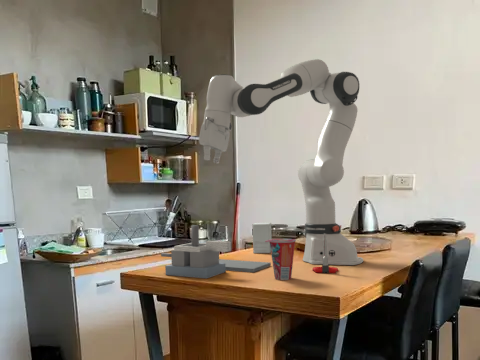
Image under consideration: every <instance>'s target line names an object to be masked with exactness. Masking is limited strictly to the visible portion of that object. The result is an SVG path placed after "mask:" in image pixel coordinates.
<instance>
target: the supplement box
mask: <svg viewBox="0 0 480 360" xmlns="http://www.w3.org/2000/svg"><path fill="white" fill-rule="evenodd" d="M251 226H252V245H253V246H252V249H253V250H252V251H253V254H271V249H270V242H265V241H267V240H270V239H273V238H272V237H273V236H272V222H254V223H253V224H252V225H251Z"/></svg>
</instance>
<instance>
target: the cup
mask: <svg viewBox="0 0 480 360" xmlns="http://www.w3.org/2000/svg"><path fill="white" fill-rule="evenodd" d="M265 242H270V249H271V252H270V254H271V255H270V256H271V260H272V266H273V267H272V268H273V274H274V275H273V276H274V280H277V281H288V280H292V273H293V263H294V255H295V254H294V253H295V247H296V242H297V240H296V238H295V239H294V238H272V239H270V240H267V241H265Z"/></svg>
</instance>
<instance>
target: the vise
mask: <svg viewBox="0 0 480 360" xmlns="http://www.w3.org/2000/svg"><path fill="white" fill-rule="evenodd" d="M190 227H191V243H192V246H193V247H199V243H200V233H199V232H200V231H199V225H196V224H193V225H191V226H190ZM160 257H163V258H164V257H165V258H171V264H166V265H165V270H164V271H165V275H166V276H176V277H185V278H186V277H187V278H198V279H208V278H209V279H210V278H212V277H215V276H218V275H221V274H224V273H226V270H225V263H219V259H220V251H203V252H188V251H174V249H172V250H171V253H169V252H168V253H167V252H161V253H160Z"/></svg>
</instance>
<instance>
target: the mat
mask: <svg viewBox="0 0 480 360" xmlns="http://www.w3.org/2000/svg"><path fill="white" fill-rule="evenodd" d="M219 263H225V271H228V270H229V271H231V272H241V271H242V273H243V272H244V273H255V272H258V271H261V270H264V269H266V268H268V267H271V264H272V263H271V262H269V261H268V262H267V261H253V260H239V259H238V260H237V259H223V258H222V259H221V258H219Z"/></svg>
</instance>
